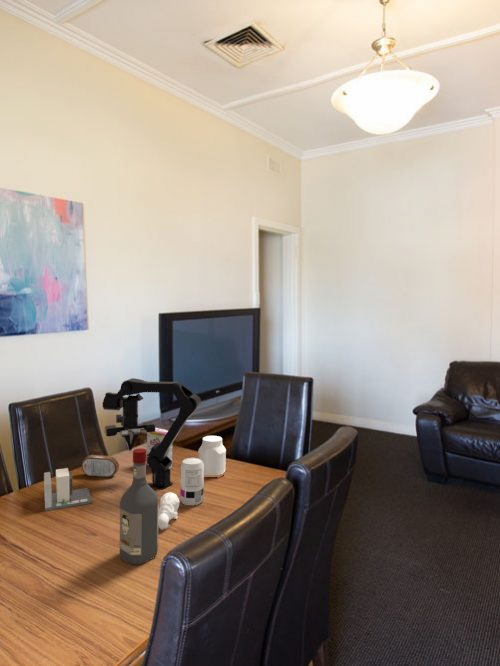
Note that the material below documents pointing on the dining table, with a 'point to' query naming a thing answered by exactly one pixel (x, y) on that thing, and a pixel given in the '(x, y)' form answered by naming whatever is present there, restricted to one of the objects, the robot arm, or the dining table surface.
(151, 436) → the candy bar box
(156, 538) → the liquor
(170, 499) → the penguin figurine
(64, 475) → the block
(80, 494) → the base
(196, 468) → the supplement can
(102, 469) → the tin
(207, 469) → the jar
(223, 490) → the dining table surface
